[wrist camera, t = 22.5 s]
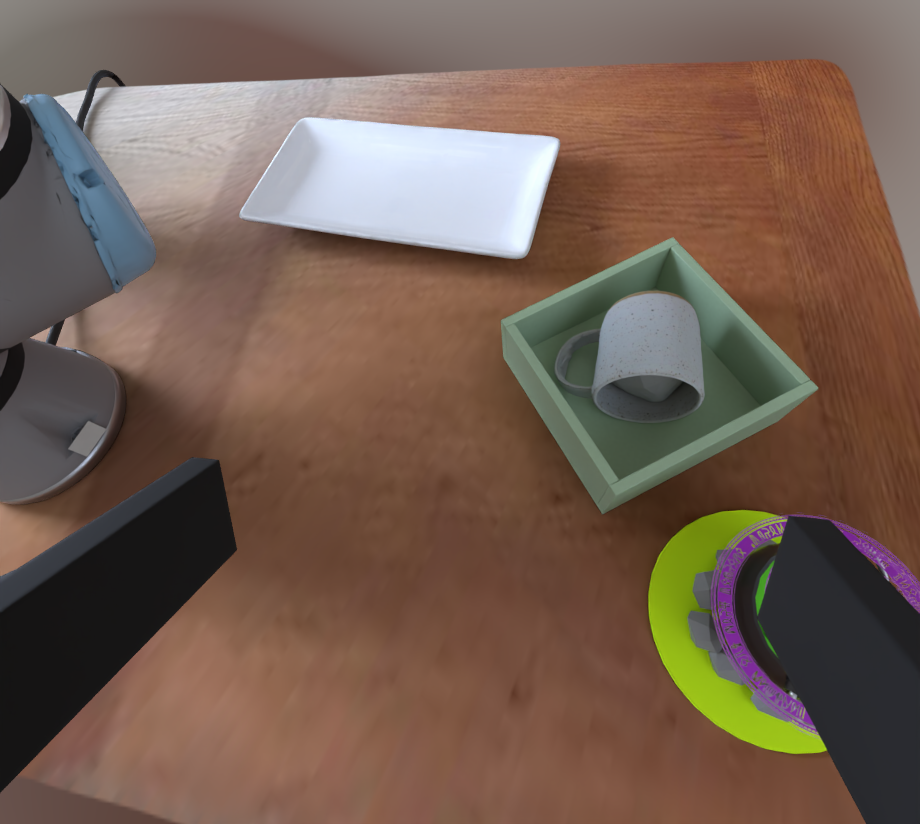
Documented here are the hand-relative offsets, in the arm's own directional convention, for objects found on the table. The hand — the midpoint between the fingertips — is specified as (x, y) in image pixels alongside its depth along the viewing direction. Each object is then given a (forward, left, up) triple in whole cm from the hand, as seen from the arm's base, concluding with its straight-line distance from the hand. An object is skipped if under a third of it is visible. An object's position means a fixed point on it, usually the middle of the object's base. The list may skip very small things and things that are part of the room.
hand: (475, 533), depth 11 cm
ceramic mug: (-11, +16, -25) cm, 32 cm away
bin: (-10, +17, -26) cm, 33 cm away
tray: (-41, +9, -26) cm, 50 cm away
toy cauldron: (+9, +15, -26) cm, 31 cm away
